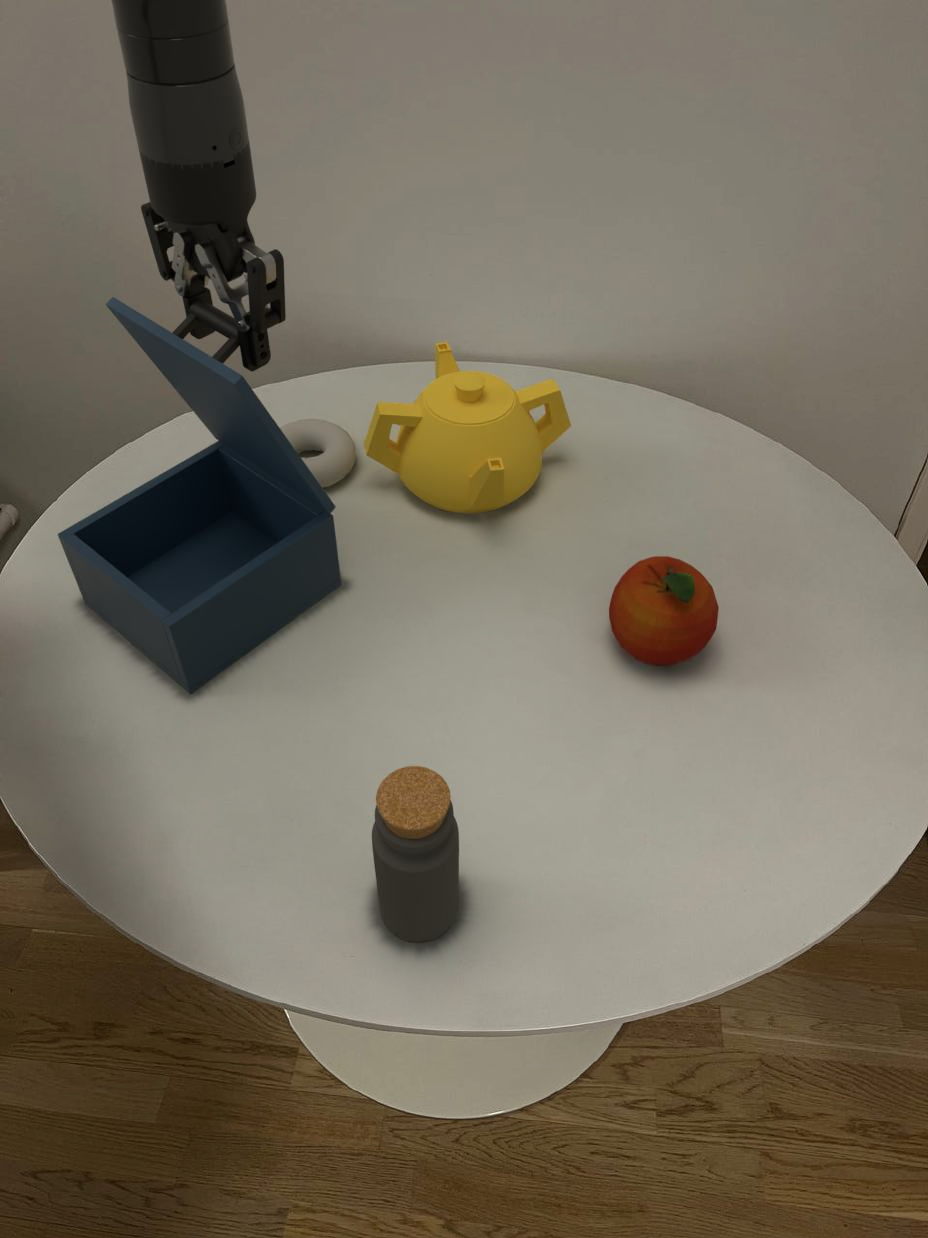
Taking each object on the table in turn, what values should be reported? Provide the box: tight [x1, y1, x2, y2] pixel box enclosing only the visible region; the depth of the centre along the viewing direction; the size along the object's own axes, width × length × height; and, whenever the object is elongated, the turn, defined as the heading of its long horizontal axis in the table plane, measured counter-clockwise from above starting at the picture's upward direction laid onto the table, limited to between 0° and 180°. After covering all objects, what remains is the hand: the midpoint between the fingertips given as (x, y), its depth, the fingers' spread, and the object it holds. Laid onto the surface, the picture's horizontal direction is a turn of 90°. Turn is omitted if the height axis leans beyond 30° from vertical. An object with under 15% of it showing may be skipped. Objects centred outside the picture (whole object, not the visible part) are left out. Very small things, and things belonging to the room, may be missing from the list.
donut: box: [279, 418, 357, 489], centre depth 107 cm, size 10×4×10 cm
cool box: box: [57, 440, 342, 695], centre depth 92 cm, size 18×16×9 cm
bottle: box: [371, 765, 460, 943], centre depth 69 cm, size 6×6×15 cm
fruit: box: [608, 555, 720, 667], centre depth 88 cm, size 10×10×10 cm
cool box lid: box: [105, 296, 337, 514], centre depth 85 cm, size 19×16×5 cm
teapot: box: [363, 341, 572, 515], centre depth 103 cm, size 17×17×12 cm
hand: (230, 349), depth 81 cm, fingers closed on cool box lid, 6 cm apart
